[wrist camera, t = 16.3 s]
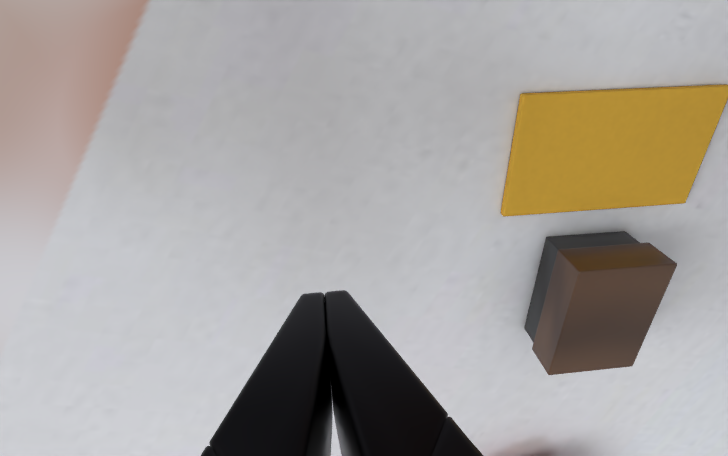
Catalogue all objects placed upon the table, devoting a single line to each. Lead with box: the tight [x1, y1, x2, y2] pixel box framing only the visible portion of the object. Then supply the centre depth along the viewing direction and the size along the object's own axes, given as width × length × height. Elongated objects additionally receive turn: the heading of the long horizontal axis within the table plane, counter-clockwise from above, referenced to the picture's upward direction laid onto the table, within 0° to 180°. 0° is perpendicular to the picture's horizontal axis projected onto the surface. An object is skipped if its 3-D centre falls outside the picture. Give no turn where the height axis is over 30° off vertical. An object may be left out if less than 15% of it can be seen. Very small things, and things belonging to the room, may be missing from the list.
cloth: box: [501, 84, 728, 216], centre depth 20 cm, size 10×6×1 cm, turn 91°
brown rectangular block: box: [524, 232, 677, 375], centre depth 23 cm, size 7×5×4 cm
